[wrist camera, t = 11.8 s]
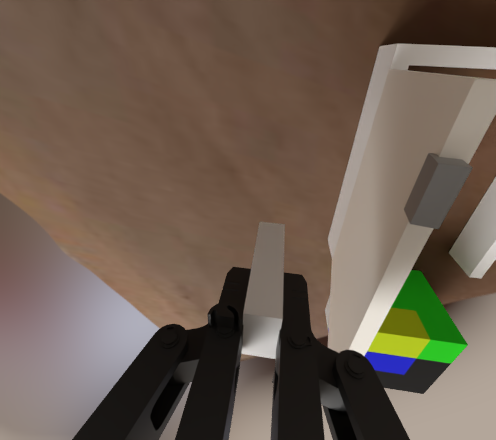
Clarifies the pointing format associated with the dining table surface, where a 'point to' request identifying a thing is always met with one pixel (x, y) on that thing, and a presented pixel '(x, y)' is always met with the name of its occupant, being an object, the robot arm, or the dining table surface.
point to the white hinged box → (389, 57)
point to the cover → (402, 193)
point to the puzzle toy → (413, 338)
